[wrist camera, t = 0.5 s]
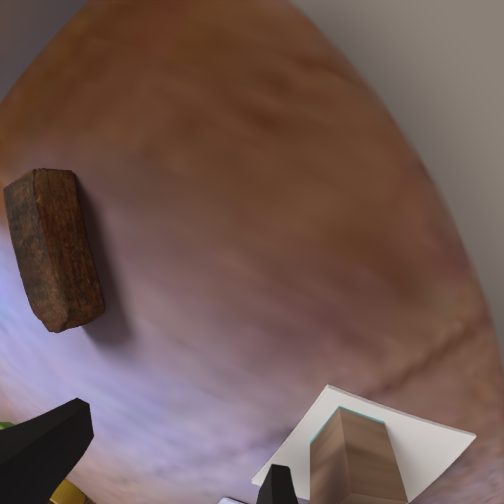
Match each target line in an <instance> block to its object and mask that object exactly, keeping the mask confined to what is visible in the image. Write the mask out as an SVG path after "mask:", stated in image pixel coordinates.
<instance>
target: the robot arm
mask: <svg viewBox="0 0 504 504" xmlns="http://www.w3.org/2000/svg"><path fill="white" fill-rule="evenodd" d="M93 437H94V433H93V427H92V420H91V413H90V405H89V403H87V402H85V401H83V400H81V399H79V398H75V399H73V400H71V401H69V402H67V403H65V404H63V405H61V406H59V407H57V408H55V409H53V410H51V411H49V412H46V413H44V414H42V415H40V416H37V417H35V418H33V419H31V420H28V421H25V422H23V423H20V424H17V425H15V426H12V427H8V428H5V429H1V430H0V504H47V503H48V502H49V500H50V498H51V496H52V495H53V493H54V492H55V490H56V489H57V488H58V486H59V485H60V484H61V483H62V481H63V480H64V479H65V478H66V476H67V475H68V474H69V473H70V471H71V470H72V469H73V468H74V466H75V465H76V464H77V462H78V461H79V460H80V459H81V457H82V456H83V455H84V453H85V451H86V450H87V448H88V446H89V444H90V443H91V441H92V439H93ZM218 504H244V503H241V502H238V501H235V500H232V499H230V498H222V499H221V500H220V502H219V503H218ZM256 504H298V501H297V497H296V494H295V490H294V486H293V481H292V476H291V470H290V468H289V466H283V465H278V464H271V466H270V469H269V471H268V473H267V475H266V477H265V480H264V482H263V484H262V486H261V488H260V490H259V494H258V498H257V503H256Z"/></svg>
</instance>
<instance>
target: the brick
mask: <svg viewBox="0 0 504 504" xmlns="http://www.w3.org/2000/svg"><path fill="white" fill-rule="evenodd" d="M3 191H4V201H5V207H6V213H7V218H8V224H9V230H10V235H11V240H12V244H13V248H14V252H15V255H16V259H17V263H18V267H19V272H20V275H21V278H22V281H23V285H24V289H25V292H26V295H27V297H28V300H29V304H30V306H31V308H32V311H33V313H34V314H35V316H36V317H37V318H38V319H39V320H41V321H42V323H43V324H44V326H45V327H46V329H47V330H48V331H49V332H54V333H60V332H62V331H65V330H67V329H70V328H75V327H78V326H81V325H84V324H87V323H89V322H91V321H93V320H94V319H96V318H97V317H99V316H100V315H102V314H103V313H104V311H105V307H104V303H103V299H102V294H101V289H100V285H99V279H98V276H97V273H96V270H95V266H94V262H93V258H92V254H91V250H90V246H89V243H88V240H87V234H86V231H85V227H84V223H83V217H82V213H81V208H80V202H79V198H78V193H77V188H76V182H75V178H74V174H73V172H72V171H71V170H57V169H46V168H41V169H40V168H38V169H33V170H30V171H28V172H27V173H25V174H24V175H22V176H21V177H19V178H18V179H17V180H15V181H14V182H12V183H11V184H9V185H8V186H6V187H5V188H4V190H3Z"/></svg>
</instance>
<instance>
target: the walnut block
mask: <svg viewBox="0 0 504 504" xmlns="http://www.w3.org/2000/svg"><path fill="white" fill-rule="evenodd" d="M407 503H408V499H407V495H406V491H405V488H404V484H403V481H402V478H401V474H400V471H399V467H398V464H397V461H396V458H395V454H394V451H393V448H392V445H391V442H390V439H389V436H388V433H387V429H386V426H385V423H384V421H381V420H378V419H375V418H372V417H369V416H366V415H363V414H361V413H358V412H355V411H352V410H349V409H347V408H344V407H341V406H338V408H337V409H336V410H335V412H334V413H333V414H332V415H331V417H330V418H329V419H328V420H327V422H326V423H325V424H324V425H323V427H322V428H321V429H320V430H319V432H318V433H317V434H316V435H315V436H314V438H313V439H312V440H311V441H310V504H407Z"/></svg>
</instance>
